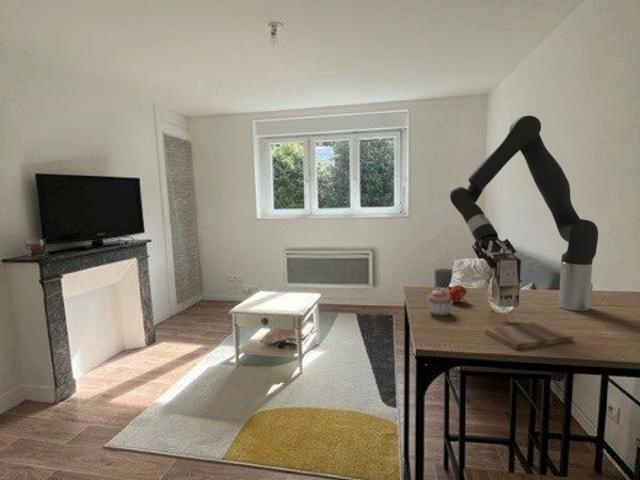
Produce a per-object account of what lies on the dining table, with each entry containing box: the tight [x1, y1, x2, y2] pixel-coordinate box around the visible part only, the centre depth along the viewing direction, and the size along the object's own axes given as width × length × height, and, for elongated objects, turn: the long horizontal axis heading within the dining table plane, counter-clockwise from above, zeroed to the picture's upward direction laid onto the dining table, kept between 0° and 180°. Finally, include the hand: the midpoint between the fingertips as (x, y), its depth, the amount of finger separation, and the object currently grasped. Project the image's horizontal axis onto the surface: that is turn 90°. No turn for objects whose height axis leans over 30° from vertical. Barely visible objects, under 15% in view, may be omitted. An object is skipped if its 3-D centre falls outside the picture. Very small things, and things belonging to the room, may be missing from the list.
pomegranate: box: [446, 284, 468, 304], centre depth 140 cm, size 7×7×10 cm
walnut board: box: [485, 321, 574, 351], centre depth 106 cm, size 20×12×2 cm, turn 104°
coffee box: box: [491, 253, 522, 308], centre depth 118 cm, size 9×6×16 cm
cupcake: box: [426, 286, 454, 317], centre depth 128 cm, size 9×9×10 cm
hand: (504, 266), depth 119 cm, fingers closed on coffee box, 7 cm apart
